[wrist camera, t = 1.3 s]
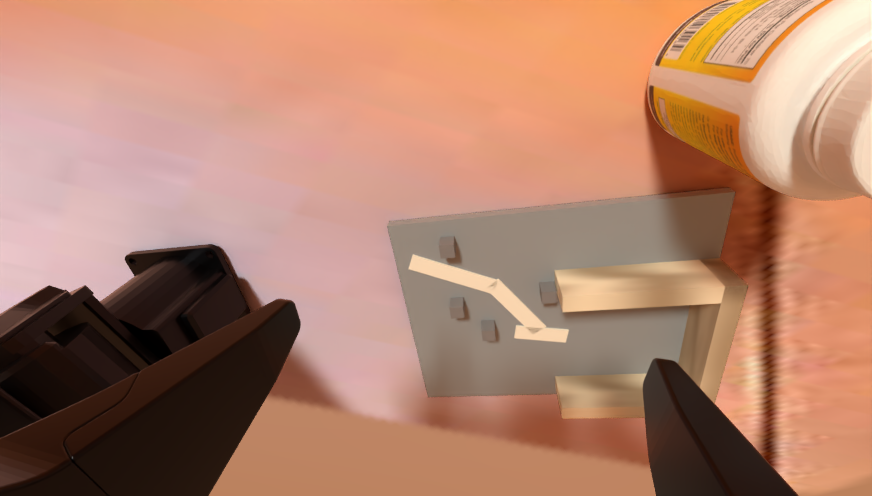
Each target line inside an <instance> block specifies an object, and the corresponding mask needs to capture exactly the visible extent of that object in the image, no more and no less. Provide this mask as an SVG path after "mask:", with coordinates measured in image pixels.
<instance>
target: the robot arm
mask: <svg viewBox="0 0 872 496" xmlns="http://www.w3.org/2000/svg"><path fill="white" fill-rule="evenodd" d="M210 252H212V253H213V254H211V253H210ZM125 261H126V263H127V265H128V266H129V268H130V269H131V271H132V272H133V274H134V276H135V277H134V278H132V279H131V280H129V281H128V282H127V283H125V284H124V285H122V286H121V287H120V288H118V289H117V290H115V291H114V292H113V293H111V294H110V295H109V296H107V297H106V298H104V299H103V300H102V301H100V302H99V301H98V300H97V299H96V298H95V297H94V296H93V294H94V293H93V292H92V291H91V290H90V289H89V288H88V287H87V286H86V285H85V286H82V287H80V288H78V289H76V290H74V291H72V292H70V293H69V292H68V291H67V290H62V289H58V288H55V287H52V286H47V287H45V288H43V289H41V290H39V291H38V292H36V293H34V294H33V295H31V296H29V297H28V298H26V299H24V300H23V301H21V302H19V303H18V304H16V305H14V306H13V307H11V308H9V309H8V310H6V311H4V312H3V313H1V314H0V496H209V494H210V492H211V491H212V489H213V487H214V485H215V484H216V482H217V480H218V479H219V477H220V475H221V474H222V472H223V470H224V468H225V467H226V465H227V463H228V462H229V460H230V458H231V457H232V455H233V453H234V452H235V450H236V448H237V446H238V445H239V443H240V441H241V440H242V438H243V436H244V435H245V433H246V431H247V429H248V428H249V426H250V424H251V423H252V421H253V419H254V418H255V416H256V414H257V412H258V411H259V409H260V407H261V406H262V404H263V402H264V401H265V399H266V397H267V396H268V394H269V392H270V390H271V389H272V387H273V385H274V383H275V382H276V380H277V378H278V376H279V374H280V372H281V370H282V367H283V365H284V363H285V361H286V359H287V357H288V354H289V352H290V350H291V348H292V346H293V344H294V341H295V339H296V337H297V335H298V333H299V330H300V319H299V316H298V313H297V309H296V306H295V303H294V302H293V301H291V300H285V299H277V300H275V301H273V302H271V303H269V304H267V305H265V306H263V307H261V308H259V309H257V310H256V311H254V312H252V313H251V312H250V310H249V308H248V306H247V304H246V302H245V300H244V298H243V296H242V294H241V292H240V290H239V287H238V285H237V283H236V281H235V279H234V277H233V275H232V273H231V271H230V269H229V267H228V265H227V263H226V261H225V259H224V257H223V255H222V253H221V251H220V249H219V248H218V247H217V246H215V245H212V244H208V245H198V246H187V247H177V248H167V249H156V250H146V251H136V252H131V253H130V254H128V255H127V256H126V257H125ZM643 402H644V413H645V424H646V436H647V447H648V456H649V462H650V468H651V473H652V478H653V482H654V487H655V492H656V496H798V494H797V493H796V492H795V491H794V490H793V489H792V488H791V487H790V486H789V485H788V483H787V482H786V481H785V480H784V479H783V478H782V477H781V476H780V475H779V474H778V473H777V471H776V470H775V469H774V468H773V467H772V466H771V465H770V464H769V463H768V462H767V461H766V459H765V458H764V457H763V456H762V455H761V454H760V453H759V452H758V451H757V450H756V448H755V447H754V446H753V445H752V444H751V443H750V442H749V441H748V440H747V439H746V438H745V436H744V435H743V434H742V433H741V432H740V431H739V430H738V429H737V428H736V427H735V426H734V424H733V423H732V422H731V421H730V420H729V419H728V418H727V417H726V416H725V415H724V414H723V412H722V411H721V410H720V409H719V408H718V407H717V406H716V405H715V404H714V403H713V401H712V400H711V399H710V398H709V397H708V396H707V395H706V394H705V393H704V392H703V391H702V389H701V388H700V387H699V386H698V385H697V384H696V383H695V382H694V381H693V380H692V379H691V377H690V376H689V375H688V374H687V373H686V372H685V371H684V370H683V369H682V368H681V366H680V365H679V364H678V363H676V362H675V361H673V360H668V359H662V358H654V359H653V360H652V362H651V364H650V367H649V369H648V371H647V374H646V376H645V379H644V381H643Z"/></svg>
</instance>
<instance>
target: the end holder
mask: <svg viewBox="0 0 872 496" xmlns="http://www.w3.org/2000/svg"><path fill="white" fill-rule="evenodd" d="M554 275H555V288H556V291H557V295H558V298H559V302H560V305H561V308H562V312H576V311H594V310H612V309H630V308H647V307H665V306H683V305H690V308H689V313H688V318H687V323H686V327H685V332H684V337H683V342H682V347H681V352H680V357H679V362H678V364H679V365H680V366H681V368H682V369H683V370H684V371H685V372H686V373H687V374H688V375H689V376H690V377H691V379H692V380H693V381H694V382H695V383H696V384H697V385H698V386H699V387H700V388H701V389H702V391H703V392H704V393H705V394H706V395H707V396H708V397H709V398H710V399H711V400H712V401H713V403H714V404H715V400H716V397H717V393H718V390H719V386H720V383H721V379H722V376H723V372H724V369H725V366H726V362H727V359H728V355H729V352H730V348H731V345H732V341H733V338H734V334H735V331H736V327H737V324H738V320H739V317H740V313H741V310H742V306H743V303H744V299H745V296H746V292H747V289H748V284H747V283H746V282H745V281H744V280H743V279H741V278H740V277H739V276H738V275H737V274H736V273H735V272H734V271H733V270H732V269H731V268H730V267H729V266H728V265H727V264H726V263H725V262H724V261H723V260H722V259H720V258H714V259H700V260H687V261H673V262H659V263H646V264H632V265H618V266H605V267H591V268H578V269H564V270H554ZM645 376H646V374H615V375H582V376H555V388H556V393H557V397H558V402H559V407H560V412H561V416H562V419H581V418H645V413H644V402H643V381H644V379H645Z"/></svg>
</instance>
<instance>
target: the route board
mask: <svg viewBox="0 0 872 496" xmlns="http://www.w3.org/2000/svg"><path fill="white" fill-rule="evenodd" d="M734 196H735V191H733V190H732V189H730V188H729V187H728V188H718V189H708V190H698V191H688V192H678V193H668V194H658V195H648V196H638V197H628V198H618V199H608V200H598V201H588V202H578V203H568V204H558V205H548V206H538V207H528V208H518V209H508V210H498V211H488V212H478V213H468V214H458V215H448V216H438V217H428V218H418V219H408V220H398V221H389V223H388V225H387V227H388V232H389V236H390V240H391V244H392V248H393V253H394V257H395V261H396V265H397V269H398V273H399V278H400V282H401V286H402V290H403V294H404V299H405V303H406V307H407V311H408V315H409V320H410V324H411V328H412V332H413V336H414V340H415V345H416V349H417V353H418V357H419V361H420V366H421V370H422V374H423V378H424V382H425V387H426V391H427V395H428V397H455V396H498V395H541V394H557V393H556V388H555V376H582V375H615V374H647V371H648V369H649V367H650V364H651V362H652V360H653V359H654V358H662V359H668V360H673V361H675V362H676V363H678V362H679V357H680V352H681V347H682V342H683V337H684V332H685V327H686V323H687V318H688V313H689V308H690V305H683V306H665V307H647V308H630V309H612V310H594V311H576V312H562V308H561V305H560V302H559V298H558V295H557V291H556V288H555V275H554V270H564V269H578V268H591V267H605V266H618V265H632V264H646V263H659V262H673V261H687V260H700V259H714V258H720V256H721V252H722V247H723V243H724V239H725V235H726V230H727V226H728V222H729V218H730V213H731V209H732V205H733V200H734Z"/></svg>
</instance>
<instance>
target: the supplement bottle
mask: <svg viewBox="0 0 872 496" xmlns="http://www.w3.org/2000/svg"><path fill="white" fill-rule="evenodd" d="M647 98H648V103H649V107H650V110H651V113H652V115H653V117H654V119H655V120H656V122H657V123H658V124H659V126H660V127H661V128H663V129H664V130H665V131H666V132H667V133H669V134H670V135H672V136H674V137H676V138H678V139H680V140H681V141H683V142H685V143H687V144H689V145H691V146H693V147H694V148H696V149H698V150H700V151H702V152H704V153H706V154H708V155H709V156H711V157H714V158H715V159H717V160H719V161H721V162H723V163H725V164H727V165H729V166H730V167H732V168H734V169H736V170H738V171H740V172H742V173H743V174H745V175H747V176H749V177H751V178H753V179H754V180H756V181H758V182H760V183H762V184H764V185H766V186H767V187H769V188H771V189H773V190H775V191H778V192H780V193H783V194H785V195H788V196H791V197H795V198H799V199H806V200H818V201H829V200H841V199H848V198H854V197H858V196H862V195H864V196H866V197H869V198H871V199H872V0H725V1H722V2H719V3H716V4H713V5H711V6H708V7H706V8H704V9H702V10H701V11H699V12H697V13H696V14H694V15H692V16H691V17H690V18H688V19H687V20H686V21H684V22H683V23H682V24H681V25H680V26H679V27H678V28H677V29H676V30H675V31H674V32H673V33H672V34H671V35H670V36H669V37H668V39H667V40H666V41H665V43H664V44H663V46H662V47H661V49H660V50H659V52H658V54H657V56H656V58H655V60H654V62H653V64H652V67H651V70H650V74H649V78H648V84H647Z"/></svg>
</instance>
